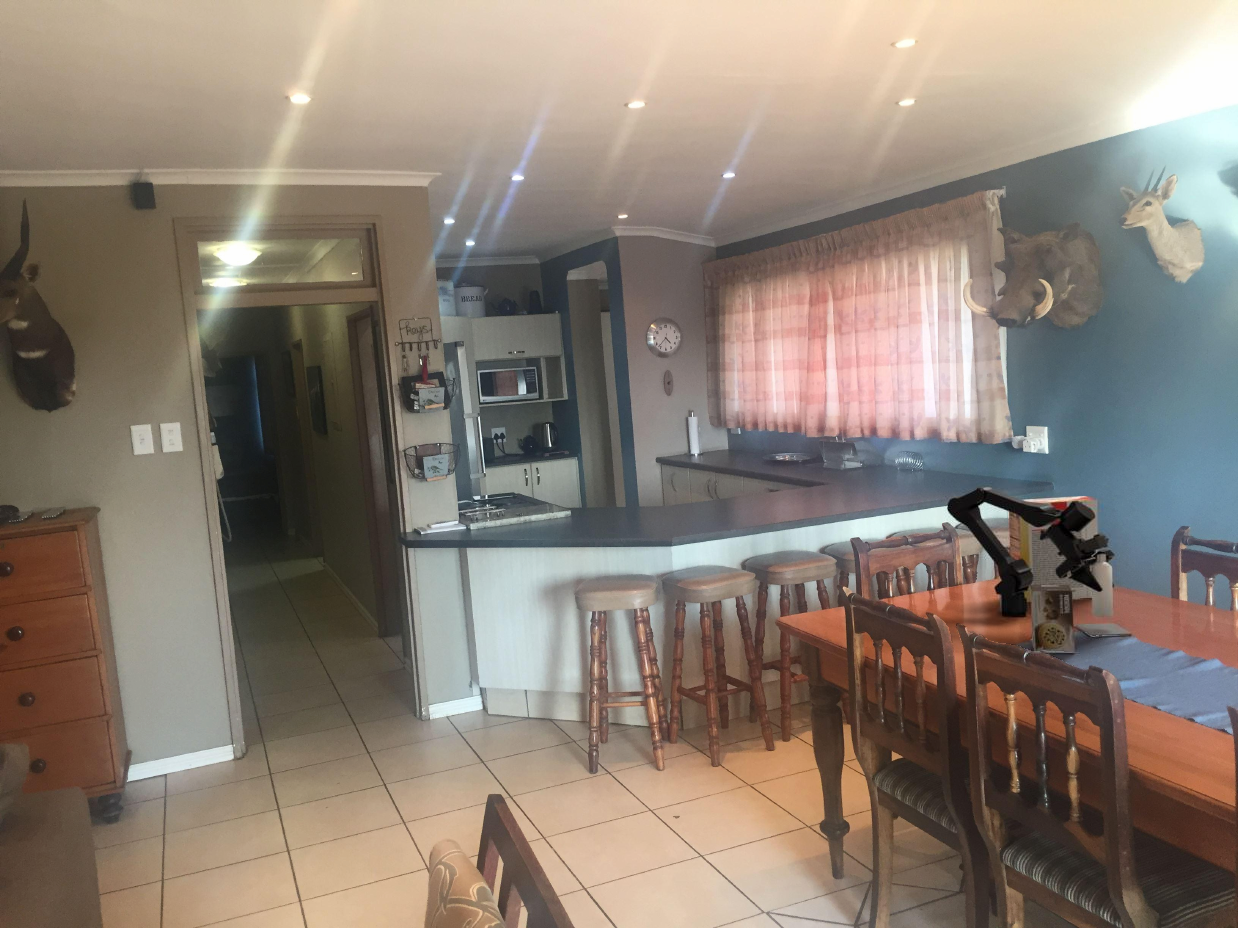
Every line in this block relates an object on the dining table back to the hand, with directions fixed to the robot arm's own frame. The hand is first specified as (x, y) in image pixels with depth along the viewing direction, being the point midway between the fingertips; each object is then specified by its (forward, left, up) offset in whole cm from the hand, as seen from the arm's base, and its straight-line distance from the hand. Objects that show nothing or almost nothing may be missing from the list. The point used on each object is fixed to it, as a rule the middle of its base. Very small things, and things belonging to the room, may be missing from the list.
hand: (1107, 589), depth 235 cm
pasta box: (-5, +38, -12) cm, 41 cm away
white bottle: (-1, +1, -7) cm, 7 cm away
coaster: (-1, +1, -11) cm, 12 cm away
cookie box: (-16, -17, -12) cm, 26 cm away
